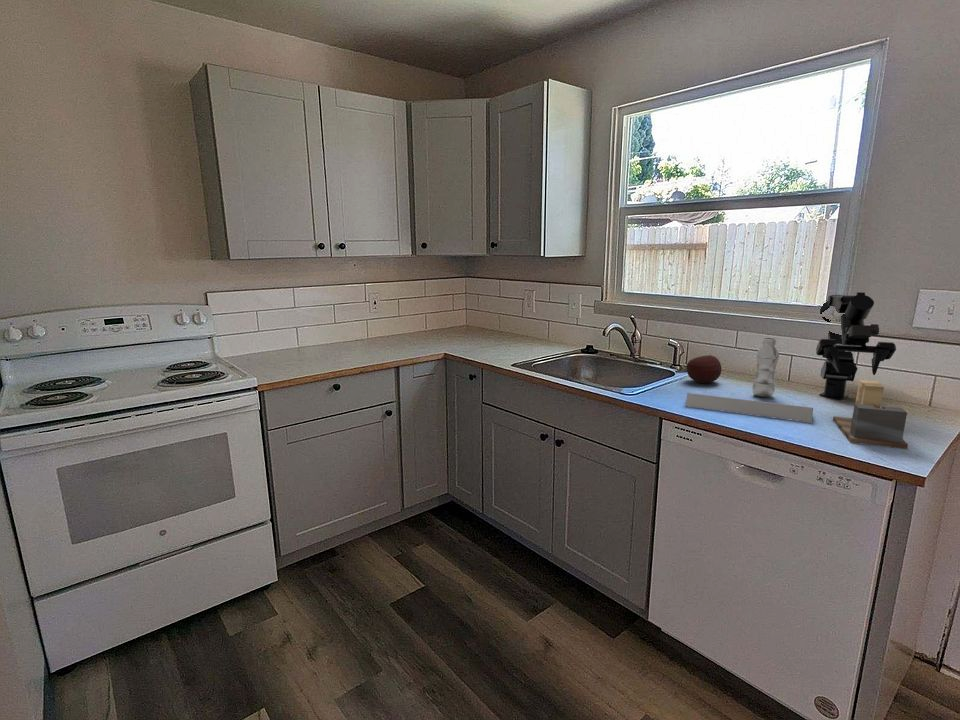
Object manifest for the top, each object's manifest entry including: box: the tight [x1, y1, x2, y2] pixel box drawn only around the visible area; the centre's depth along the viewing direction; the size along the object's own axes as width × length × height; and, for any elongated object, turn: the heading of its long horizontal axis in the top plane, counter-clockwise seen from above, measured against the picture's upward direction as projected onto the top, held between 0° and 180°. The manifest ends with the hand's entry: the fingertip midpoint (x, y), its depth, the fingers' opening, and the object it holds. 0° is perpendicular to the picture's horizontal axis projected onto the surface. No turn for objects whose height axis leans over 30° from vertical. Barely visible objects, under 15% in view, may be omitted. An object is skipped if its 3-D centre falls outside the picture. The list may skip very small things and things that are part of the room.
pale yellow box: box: [854, 379, 885, 408], centre depth 138 cm, size 8×4×12 cm, turn 157°
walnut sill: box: [832, 403, 909, 450], centre depth 136 cm, size 18×12×9 cm, turn 157°
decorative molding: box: [685, 392, 814, 423], centre depth 158 cm, size 34×5×10 cm
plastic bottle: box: [751, 337, 780, 398], centre depth 169 cm, size 6×7×20 cm
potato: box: [686, 355, 722, 384], centre depth 188 cm, size 11×13×10 cm
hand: (856, 372), depth 149 cm, fingers open, 8 cm apart
